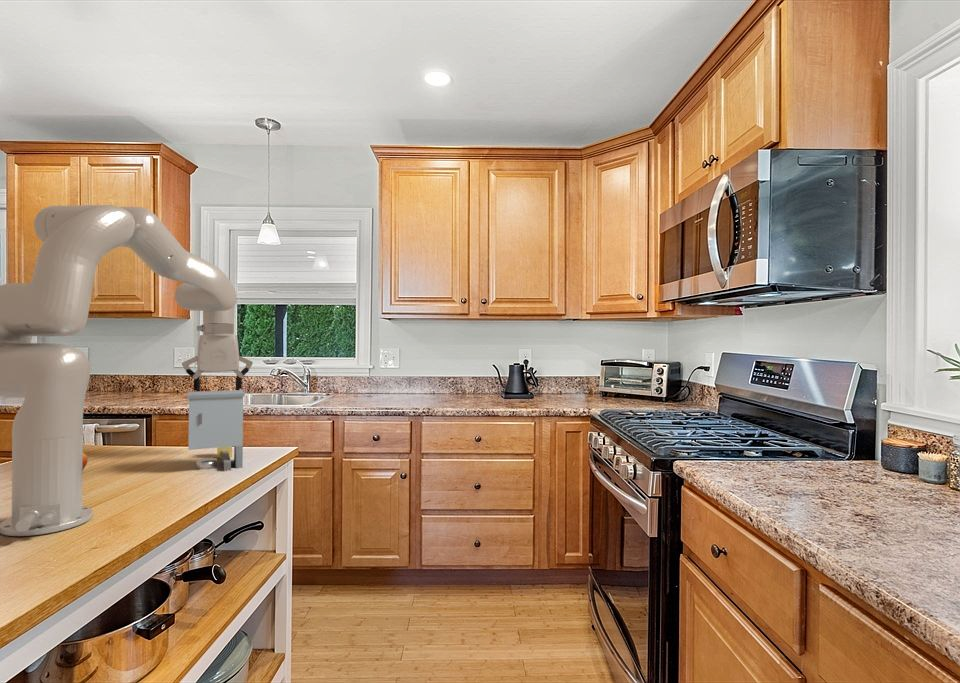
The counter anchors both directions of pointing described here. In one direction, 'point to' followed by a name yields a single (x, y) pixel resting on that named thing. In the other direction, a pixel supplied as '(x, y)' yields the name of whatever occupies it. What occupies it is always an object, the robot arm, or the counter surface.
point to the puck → (206, 463)
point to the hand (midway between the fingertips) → (218, 392)
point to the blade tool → (225, 456)
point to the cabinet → (217, 421)
